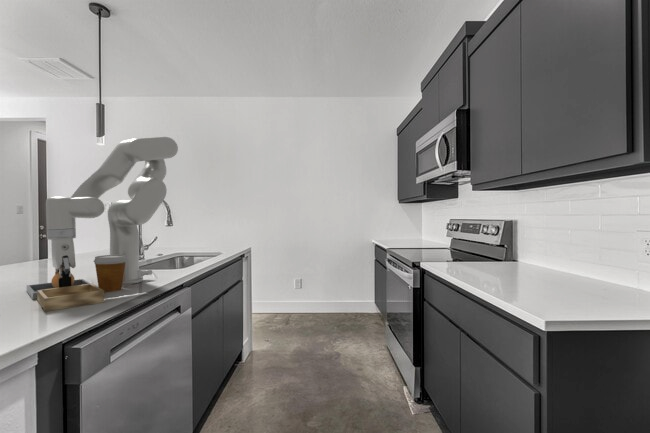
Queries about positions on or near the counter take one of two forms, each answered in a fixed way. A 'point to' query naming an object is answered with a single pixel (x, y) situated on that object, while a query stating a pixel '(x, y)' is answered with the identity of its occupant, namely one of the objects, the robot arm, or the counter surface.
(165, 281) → the counter surface
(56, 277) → the ball
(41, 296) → the tray
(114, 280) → the disposable coffee cup
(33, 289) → the container
